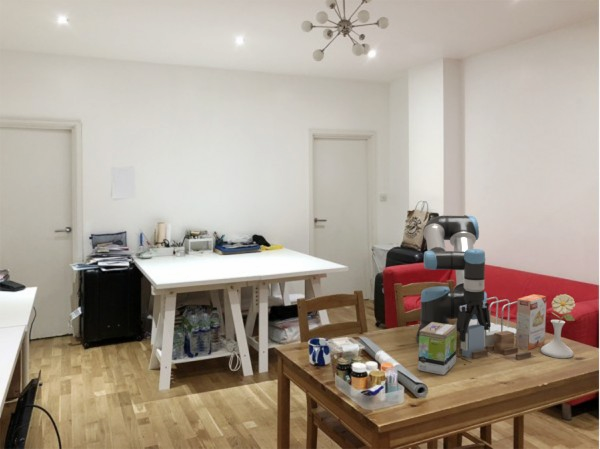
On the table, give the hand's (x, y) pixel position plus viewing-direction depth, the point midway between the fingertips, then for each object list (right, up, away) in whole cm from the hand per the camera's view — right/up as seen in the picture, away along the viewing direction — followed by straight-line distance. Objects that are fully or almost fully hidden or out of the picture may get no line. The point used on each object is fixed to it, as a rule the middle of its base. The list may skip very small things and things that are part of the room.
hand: (473, 347), depth 194 cm
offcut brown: (+13, -2, +4) cm, 14 cm away
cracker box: (+28, -3, +12) cm, 30 cm away
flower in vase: (+33, -4, 0) cm, 33 cm away
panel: (0, -3, 0) cm, 3 cm away
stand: (0, -4, 0) cm, 4 cm away
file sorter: (+18, -2, +35) cm, 39 cm away
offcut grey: (+11, -2, +9) cm, 14 cm away
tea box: (-16, -5, -9) cm, 19 cm away
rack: (+13, -3, +4) cm, 14 cm away
